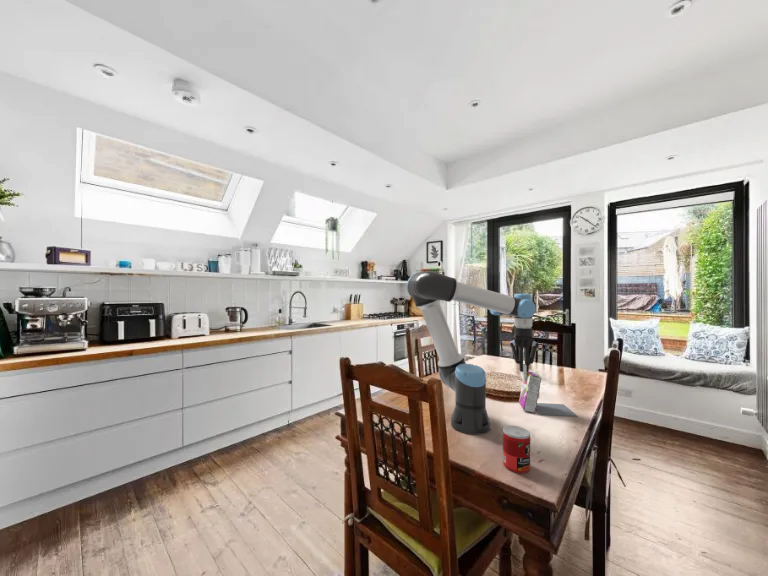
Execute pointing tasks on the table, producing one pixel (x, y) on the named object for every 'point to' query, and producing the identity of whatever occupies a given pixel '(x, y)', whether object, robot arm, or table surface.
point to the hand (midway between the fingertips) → (524, 378)
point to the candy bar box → (530, 391)
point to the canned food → (516, 449)
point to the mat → (554, 409)
